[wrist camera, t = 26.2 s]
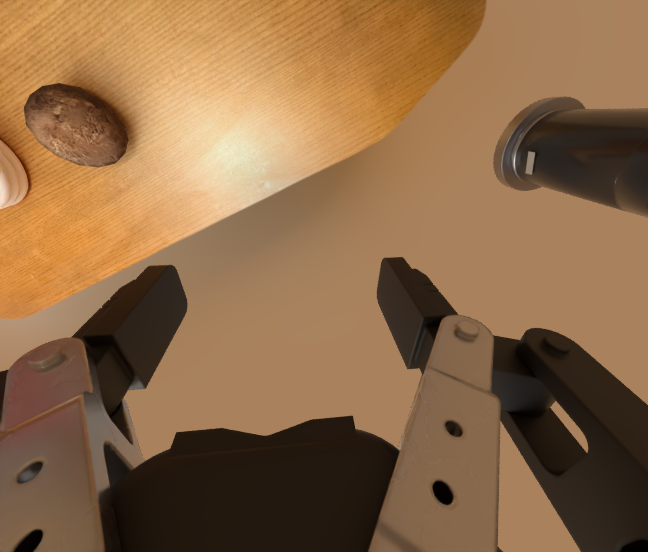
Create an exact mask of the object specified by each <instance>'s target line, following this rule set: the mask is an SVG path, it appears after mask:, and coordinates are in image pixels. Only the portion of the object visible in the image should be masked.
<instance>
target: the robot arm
mask: <svg viewBox="0 0 648 552" xmlns="http://www.w3.org/2000/svg"><path fill="white" fill-rule="evenodd" d="M511 169H512V172H513V174H514V176H515V177H516V178H517V179H519V180H520V181H523V182H526V183H532V184H536V185H539V186H542V187H546V188H549V189H552V190H555V191H559V192H563V193H566V194H569V195H573V196H576V197H579V198H583V199H586V200H589V201H593V202H596V203H599V204H603V205H606V206H610V207H613V208H617V209H620V210H623V211H627V212H630V213H634V214H637V215H641V216H644V217H647V218H648V108H643V109H567V108H561V109H554V110H550V111H548V112H546V113H544V114H542V115H540V116H539V117H537V118H536V119H535V120H533V121H532V122H531V123H530V124H529V125H528V126H527V127H526V128H525V130H524V131H523V132H522V133H521V135H520V136H519V138H518V140H517V142H516V144H515V146H514V148H513V151H512V155H511ZM377 300H378V304H379V306H380V308H381V311H382V313H383V315H384V317H385V320H386V322H387V324H388V326H389V329H390V331H391V333H392V336H393V338H394V340H395V342H396V345H397V347H398V349H399V351H400V353H401V356H402V358H403V360H404V363H405V365H406V367H407V369H416V368H420V370H421V372H422V377H421V379H420V382H419V385H418V388H417V392H416V394H415V397H414V401H413V404H412V407H411V410H410V413H409V416H408V419H407V422H406V425H405V428H404V431H403V434H402V436H401V440H400V442H399V445H398V448H396V447H394V446H393V445H392V444H390V443H389V442H387V441H385V440H384V439H382V438H380V437H378V436H376V435H374V434H371V433H368V432H365V431H362V430H357V429H355V425H354V420H353V416H345V417H334V418H324V419H313V420H309V421H306V422H304V423H301V424H298V425H296V426H293V427H290V428H288V429H285V430H282V431H280V432H277V433H274V434H272V435H268V436H261V435H256V434H251V433H245V432H240V431H235V430H229V429H224V428H217V429H207V430H197V431H186V432H177V433H176V435H175V438H174V441H173V443H172V446H171V448H170V449H168V450H166V451H164V452H162V453H159V454H157V455H155V456H153V457H152V458H150V459H148V460H146V461H145V460H144V458H143V455H142V453H141V450H140V447H139V444H138V440H137V437H136V434H135V430H134V427H133V423H132V420H131V416H130V413H129V409H128V406H127V403H126V401H125V400H124V398H123V397H124V396H125V394H126V392H127V390H135V389H145V388H146V387H147V385H148V383H149V381H150V379H151V378H152V376H153V374H154V372H155V370H156V368H157V366H158V364H159V363H160V361H161V359H162V357H163V355H164V353H165V352H166V349H167V348H168V346H169V344H170V342H171V340H172V339H173V337H174V335H175V333H176V331H177V329H178V327H179V325H180V324H181V322H182V320H183V318H184V316H185V314H186V312H187V299H186V295H185V292H184V290H183V287H182V284H181V281H180V278H179V275H178V273H177V270H176V268H175V267H174V266H173V265H158V266H148V267H147V268H146V269H145V270H144V271H143V272H142V273H141V274H140V275H139V276H138V277H137V279H136V280H133V281H131V282H130V283H128V284H126V285H124V286H123V287H121V288H120V289H119V290H118V291H117V292H116V293H115V294H114V295H113V296H112V297H111V298H110V300H108V301H107V302H106V303H105V304H104V305H103V306H102V308H100V309H99V310H98V311H97V312H96V313H95V314H94V315H93V316H92V317H91V318H90V319H89V320H88V321H87V322H86V323H85V324H84V325H83V326H82V327H81V328H80V329H79V330H78V331H77V332H76V333H75V334H74V335H73V336H72V337H71V338H63V339H58V340H54V341H51V342H48V343H45V344H43V345H41V346H39V347H37V348H35V349H33V350H31V351H30V352H28V353H27V354H25V355H23V356H22V357H21V358H19V359H18V360H17V361H16V362H15V363H14V364H13V365H12V366H11V367H10V369H9V370H6V371H1V372H0V552H503V551H502V550H501V549H500V548H499V547H498V546H497V545H498V502H499V455H500V420H501V422H502V424H503V425H504V427H505V428H506V430H507V432H508V433H509V435H510V437H511V438H512V440H513V441H514V443H515V445H516V446H517V448H518V450H519V451H520V453H521V455H522V456H523V457H524V459H525V461H526V463H527V464H528V466H529V468H530V469H531V471H532V472H533V474H534V476H535V477H536V479H537V480H538V482H539V484H540V485H541V487H542V489H543V490H544V492H545V494H546V495H547V497H548V499H549V500H550V502H551V503H552V505H553V507H554V508H555V510H556V511H557V513H558V515H559V516H560V518H561V520H562V521H563V523H564V524H565V526H566V528H567V529H568V531H569V533H570V534H571V536H572V538H573V539H574V541H575V543H576V544H577V546H578V547H579V549H580V551H581V552H648V405H647V404H646V403H644V402H643V401H642V400H641V399H640V398H639V397H638V396H637V395H635V394H634V393H633V392H632V391H631V390H630V389H629V388H627V387H626V386H625V385H624V384H623V383H622V382H620V381H619V380H618V379H617V378H616V377H615V376H614V375H612V374H611V373H610V372H609V371H608V370H607V369H606V368H604V367H603V366H602V365H601V364H600V363H599V362H597V361H596V360H595V359H594V358H593V357H592V356H591V355H589V354H588V353H587V352H586V351H584V350H583V349H582V348H581V347H580V346H579V345H578V344H577V343H575V342H574V341H572V340H571V339H569V338H567V337H565V336H563V335H561V334H559V333H556V332H553V331H551V330H547V329H541V328H532V329H529V330H527V331H526V332H525V333H524V335H523V336H522V338H521V340H515V339H510V338H504V337H499V336H494V335H492V333H491V331H490V330H489V329H488V328H487V327H486V326H485V325H483V324H482V323H480V322H478V321H477V320H474V319H472V318H470V317H466V316H462V315H458V314H457V312H456V311H455V310H454V309H453V307H452V306H451V305H450V304H449V303H448V301H447V300H446V299H445V298H444V297H443V295H442V294H441V293H440V292H439V291H438V289H437V288H436V287H435V286H434V285H433V283H432V282H431V281H430V279H429V278H428V277H427V276H426V275H425V274H423V273H422V272H420V271H419V270H417V269H412V268H411V267H410V266H409V264H408V263H407V262H406V261H405V259H404V258H403V257H395V258H384V259H383V260H382V262H381V268H380V274H379V281H378V287H377ZM555 401H557V402H558V403H559V405H560V406H561V407H562V408H563V409H564V410H565V411H566V413H567V414H568V415H569V416H570V418H571V419H572V420H573V421H574V422H575V423H576V425H577V426H578V427H579V428H580V429H581V431H582V432H583V433H584V435H585V437H586V439H587V442H588V453H586V452H585V450H584V449H583V448H582V446H581V445H580V444H579V443H578V442H577V440H576V439H575V438H574V437H573V436H572V434H571V433H570V432H569V430H568V429H567V428H566V427H565V426H564V424H563V423H562V422H561V421H560V419H559V418H558V417H557V416H556V414H555V413H554V412H553V411H552V410H551V408H550V407H551V406H552V404H553V403H554V402H555Z"/></svg>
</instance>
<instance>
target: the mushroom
mask: <svg viewBox="0 0 648 552" xmlns="http://www.w3.org/2000/svg"><path fill="white" fill-rule="evenodd" d="M24 113H25V120H26V125H27V127H28V128H29V129H30V131H31V132H32V133H33V135H34V136H35V137H36V139H37V140H38V142H39V143H40V144H41V145H43V146H44V147H45V148H47V149H48V150H49V151H51V152H52V153H54V154H55V155H56V156H58V157H60V158H63V159H65V160H68V161H70V162H73V163H75V164H78V165H83V166H92V167H103V166H107V165H110V164H114V163H116V162H117V161H118V160H119V159H120V158H121V157H122V156H123V155H124V154H125V153H126V149H127V145H128V141H129V140H128V136H127V132H126V127H125V126H124V124H123V123H122V121H121V120H120V119H119V117H118V116H117V115H116V113H115V112H114V111H113V110H112V109H110V108H109V107H108V106H107V105H105V104H104V103H103V102H102V101H101V100H99V99H98V98H96V97H95V96H93V95H91V94H90V93H88V92H87V91H85V90H83V89H82V88H80V87H75V86H70V85H66V84H61V83H58V84H52V85H46V86H42V87H40V88H39V89H38V90H36V91H35V92H33V93H32V94H31V95H30V96H29V98H28V100H27V102H26V104H25V106H24Z"/></svg>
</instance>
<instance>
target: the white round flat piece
mask: <svg viewBox="0 0 648 552" xmlns="http://www.w3.org/2000/svg"><path fill="white" fill-rule="evenodd" d="M27 191H28V179H27V175H26V172H25V170H24V168H23V166H22V164H21V162H20V161H19V159H18V158H17V156H16V155H15V154H14V153H13V152H12V150H11V149H10V148H9V147H8V146H7V145H6V144H5V143H4V142H2V141H1V140H0V209H3V208H6V207H8V206H12V205H15V204H17V203H19V202H20V201H21V200H22V199H23V198H24V197H25V195H26V194H27Z"/></svg>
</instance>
